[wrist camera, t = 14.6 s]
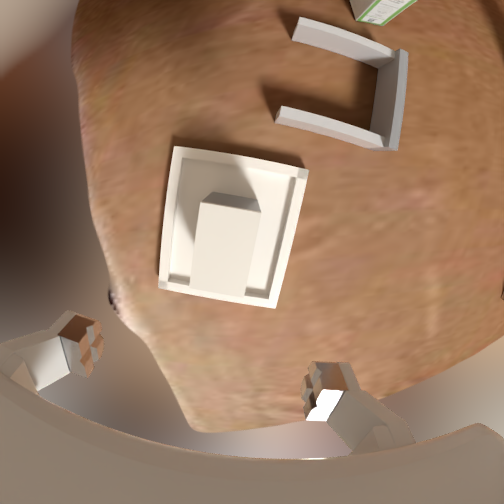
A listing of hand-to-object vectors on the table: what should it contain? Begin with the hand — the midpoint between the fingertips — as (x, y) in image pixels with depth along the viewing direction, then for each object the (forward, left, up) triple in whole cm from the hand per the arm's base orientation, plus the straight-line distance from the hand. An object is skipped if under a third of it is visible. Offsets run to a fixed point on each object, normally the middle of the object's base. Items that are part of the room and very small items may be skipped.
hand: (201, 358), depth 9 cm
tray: (0, 0, -20) cm, 20 cm away
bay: (-8, -17, -20) cm, 27 cm away
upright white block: (0, 0, -19) cm, 19 cm away
